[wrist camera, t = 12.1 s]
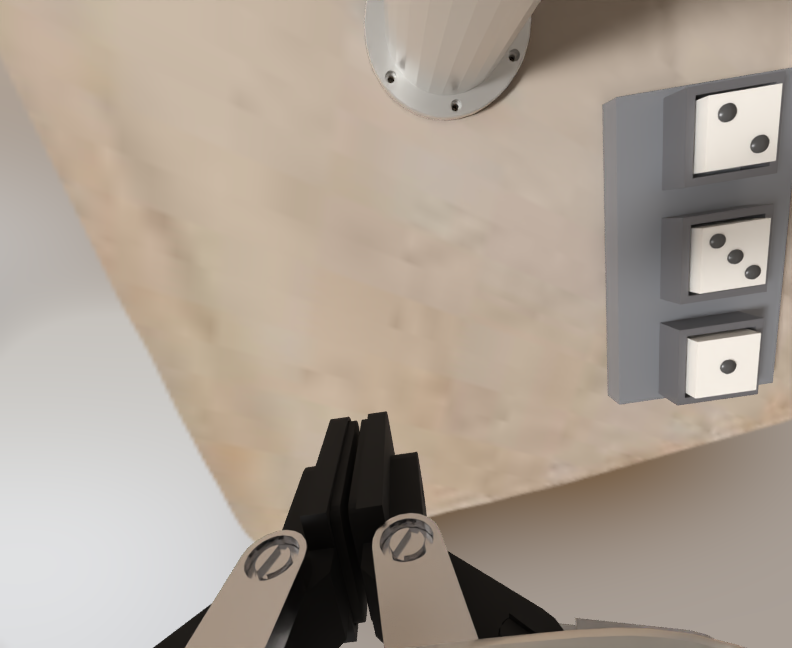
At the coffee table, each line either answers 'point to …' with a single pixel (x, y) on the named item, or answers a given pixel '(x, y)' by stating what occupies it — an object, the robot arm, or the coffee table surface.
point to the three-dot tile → (728, 254)
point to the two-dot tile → (736, 128)
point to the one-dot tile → (722, 362)
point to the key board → (682, 237)
